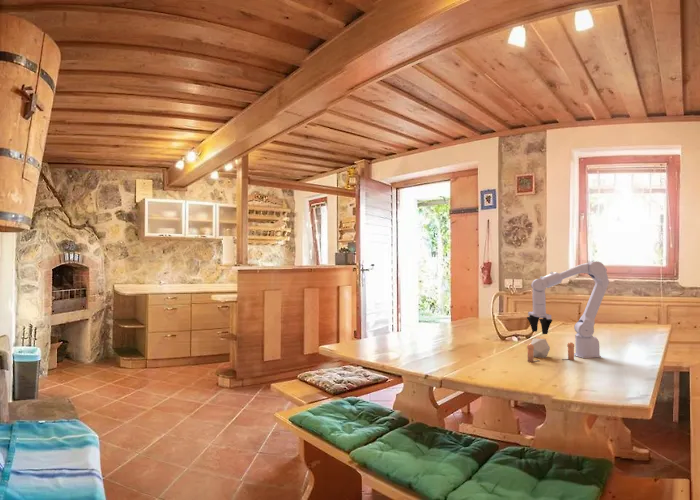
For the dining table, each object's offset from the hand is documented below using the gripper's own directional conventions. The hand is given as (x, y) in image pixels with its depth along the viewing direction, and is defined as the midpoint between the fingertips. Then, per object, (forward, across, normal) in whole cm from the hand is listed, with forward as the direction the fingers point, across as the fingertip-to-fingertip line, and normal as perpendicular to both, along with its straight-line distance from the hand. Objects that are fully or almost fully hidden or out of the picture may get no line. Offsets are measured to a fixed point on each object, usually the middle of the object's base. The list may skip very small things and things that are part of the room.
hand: (539, 332), depth 201 cm
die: (+10, +6, -4) cm, 12 cm away
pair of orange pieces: (+10, +14, -4) cm, 17 cm away
